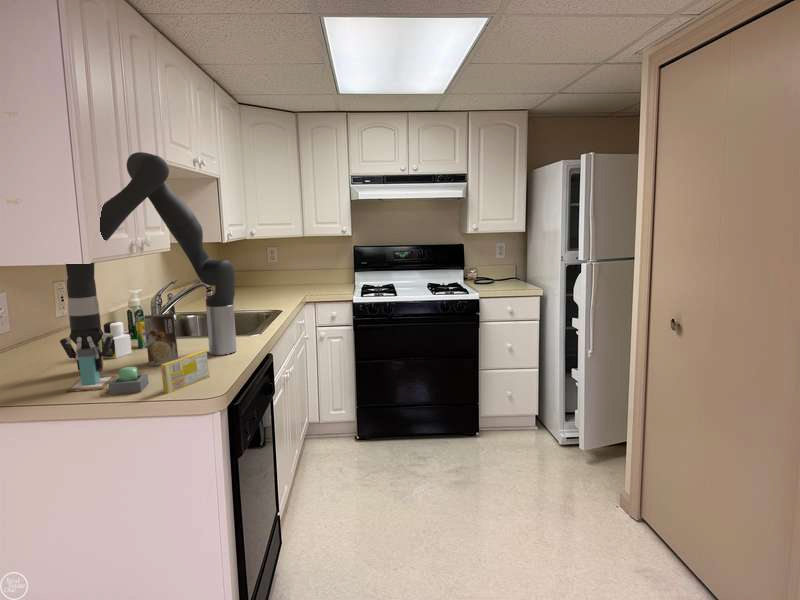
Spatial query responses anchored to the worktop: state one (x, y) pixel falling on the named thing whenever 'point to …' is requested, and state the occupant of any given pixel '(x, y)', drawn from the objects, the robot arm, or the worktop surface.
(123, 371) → the button
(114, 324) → the medicine bottle
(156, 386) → the worktop surface
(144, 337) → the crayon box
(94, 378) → the teal and grey block
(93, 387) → the clipboard
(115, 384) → the button housing
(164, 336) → the coffee box
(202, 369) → the candy box
